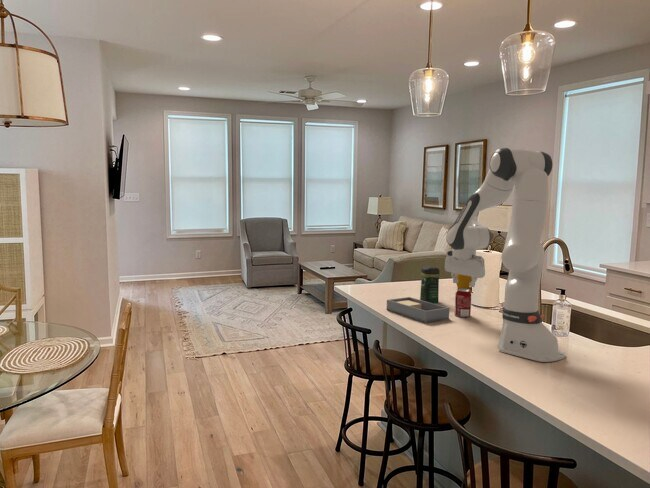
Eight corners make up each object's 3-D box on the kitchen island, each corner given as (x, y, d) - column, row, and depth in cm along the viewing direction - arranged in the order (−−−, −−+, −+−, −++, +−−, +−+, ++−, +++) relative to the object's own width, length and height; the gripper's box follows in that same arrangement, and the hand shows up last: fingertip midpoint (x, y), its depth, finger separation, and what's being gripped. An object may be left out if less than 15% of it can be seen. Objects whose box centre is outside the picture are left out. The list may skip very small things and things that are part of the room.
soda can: (470, 318, 213) (472, 291, 212) (454, 317, 215) (456, 290, 214) (469, 315, 220) (470, 288, 219) (454, 314, 221) (455, 287, 220)
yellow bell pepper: (462, 289, 280) (463, 267, 279) (479, 292, 273) (480, 269, 271) (451, 291, 273) (452, 269, 272) (468, 295, 265) (469, 271, 264)
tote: (448, 319, 212) (449, 307, 211) (425, 323, 205) (426, 311, 204) (408, 307, 233) (409, 296, 233) (386, 310, 226) (386, 299, 226)
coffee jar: (440, 305, 239) (442, 267, 238) (425, 305, 238) (426, 267, 236) (432, 300, 249) (433, 264, 247) (417, 301, 247) (419, 264, 245)
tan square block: (421, 310, 223) (421, 304, 223) (406, 312, 218) (406, 306, 218) (407, 306, 231) (408, 300, 230) (393, 308, 226) (393, 302, 226)
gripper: (489, 256, 208) (487, 288, 209) (453, 250, 225) (451, 280, 226) (479, 257, 204) (477, 289, 206) (443, 251, 221) (441, 281, 223)
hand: (463, 284), depth 216 cm, fingers open, 8 cm apart
